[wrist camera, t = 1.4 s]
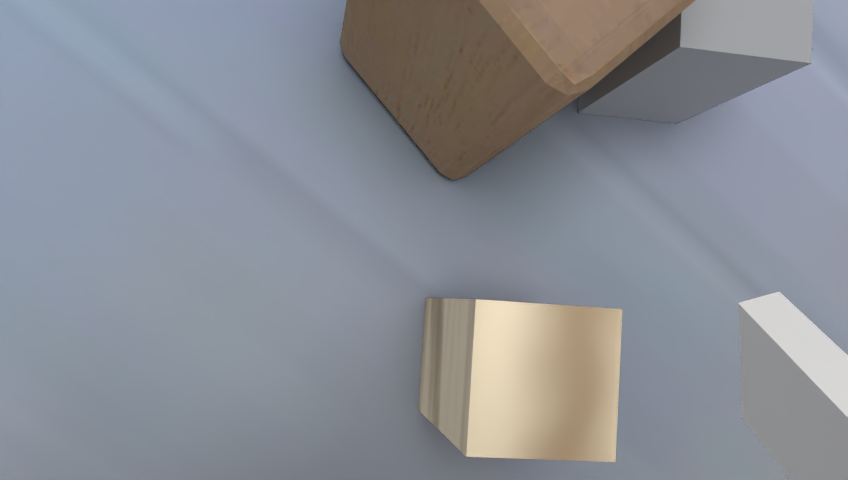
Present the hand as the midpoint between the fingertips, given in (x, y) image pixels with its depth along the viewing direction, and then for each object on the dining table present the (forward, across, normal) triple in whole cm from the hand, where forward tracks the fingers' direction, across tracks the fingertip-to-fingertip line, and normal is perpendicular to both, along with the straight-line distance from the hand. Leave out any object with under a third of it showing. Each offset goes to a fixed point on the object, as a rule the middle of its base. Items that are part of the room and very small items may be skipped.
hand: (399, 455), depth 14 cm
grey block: (+31, +16, -6) cm, 36 cm away
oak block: (+23, +3, -16) cm, 28 cm away
